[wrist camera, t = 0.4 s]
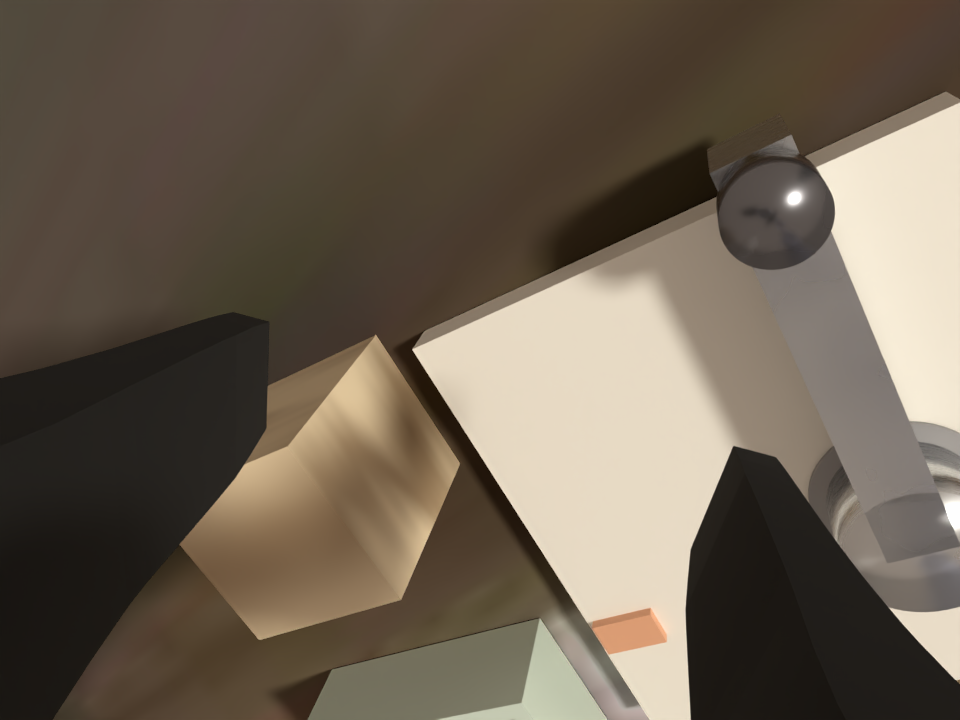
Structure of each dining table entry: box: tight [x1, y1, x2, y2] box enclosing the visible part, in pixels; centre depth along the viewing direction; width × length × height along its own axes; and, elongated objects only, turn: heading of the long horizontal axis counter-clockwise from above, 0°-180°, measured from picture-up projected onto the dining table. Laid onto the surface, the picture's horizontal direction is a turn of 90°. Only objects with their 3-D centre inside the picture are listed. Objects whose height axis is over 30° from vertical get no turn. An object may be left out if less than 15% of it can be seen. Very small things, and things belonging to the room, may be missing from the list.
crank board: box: [412, 92, 960, 720], centre depth 21 cm, size 16×14×2 cm
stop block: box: [179, 335, 460, 640], centre depth 22 cm, size 5×5×6 cm
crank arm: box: [707, 114, 960, 612], centre depth 17 cm, size 12×4×3 cm, turn 31°
